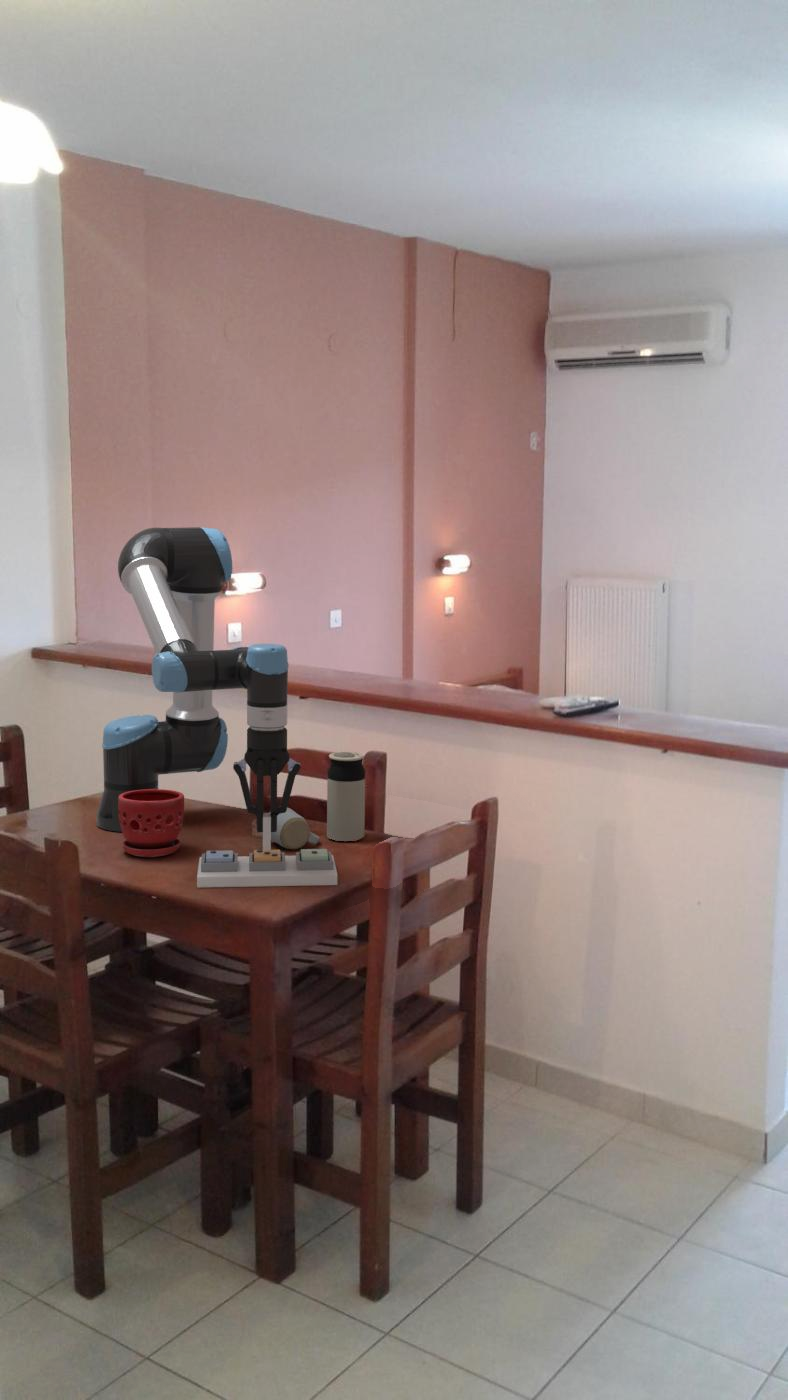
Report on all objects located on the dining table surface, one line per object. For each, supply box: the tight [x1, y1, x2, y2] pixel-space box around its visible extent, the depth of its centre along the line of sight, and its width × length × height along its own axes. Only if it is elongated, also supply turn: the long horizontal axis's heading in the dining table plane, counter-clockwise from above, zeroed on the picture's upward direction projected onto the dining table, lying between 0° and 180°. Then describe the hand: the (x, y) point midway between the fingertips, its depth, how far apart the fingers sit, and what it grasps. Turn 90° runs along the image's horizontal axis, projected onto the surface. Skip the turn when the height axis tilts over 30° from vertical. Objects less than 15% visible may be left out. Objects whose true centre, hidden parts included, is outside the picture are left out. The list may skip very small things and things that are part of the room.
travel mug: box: [326, 751, 366, 842], centre depth 268 cm, size 8×8×18 cm
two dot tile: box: [205, 849, 234, 863], centre depth 240 cm, size 5×5×2 cm
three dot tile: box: [253, 849, 281, 862], centre depth 241 cm, size 5×5×2 cm
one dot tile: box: [300, 848, 328, 861], centre depth 242 cm, size 5×5×2 cm
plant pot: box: [118, 788, 185, 859], centre depth 256 cm, size 13×13×12 cm
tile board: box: [196, 851, 338, 889], centre depth 242 cm, size 13×26×4 cm, turn 96°
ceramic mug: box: [271, 807, 320, 851], centre depth 263 cm, size 11×8×8 cm
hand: (266, 848), depth 241 cm, fingers closed
